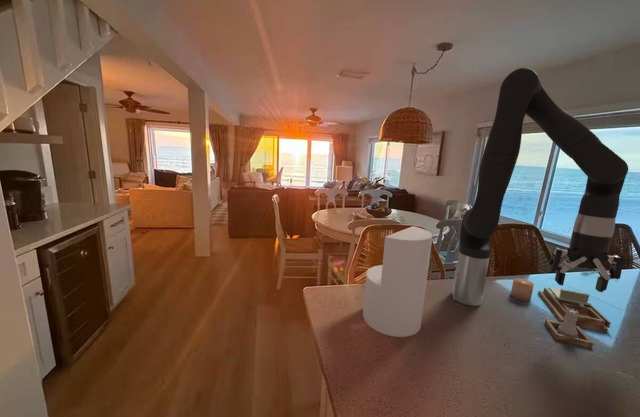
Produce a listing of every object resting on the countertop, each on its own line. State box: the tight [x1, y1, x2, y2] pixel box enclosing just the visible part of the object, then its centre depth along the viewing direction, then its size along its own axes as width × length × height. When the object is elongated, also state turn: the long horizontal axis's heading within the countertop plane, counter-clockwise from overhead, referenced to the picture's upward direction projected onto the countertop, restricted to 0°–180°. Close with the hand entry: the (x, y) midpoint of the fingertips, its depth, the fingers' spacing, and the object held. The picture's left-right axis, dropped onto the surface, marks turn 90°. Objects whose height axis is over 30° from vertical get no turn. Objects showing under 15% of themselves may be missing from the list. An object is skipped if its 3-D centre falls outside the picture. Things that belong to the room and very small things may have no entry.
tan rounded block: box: [510, 277, 535, 302], centre depth 97 cm, size 6×6×6 cm
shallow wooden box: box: [537, 287, 611, 334], centre depth 89 cm, size 12×20×3 cm, turn 157°
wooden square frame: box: [544, 318, 594, 349], centre depth 77 cm, size 8×8×2 cm
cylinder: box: [362, 225, 433, 338], centre depth 79 cm, size 17×17×28 cm
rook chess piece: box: [556, 308, 580, 338], centre depth 76 cm, size 4×4×8 cm
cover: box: [547, 286, 592, 305], centre depth 92 cm, size 8×8×4 cm
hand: (578, 287), depth 74 cm, fingers open, 8 cm apart
